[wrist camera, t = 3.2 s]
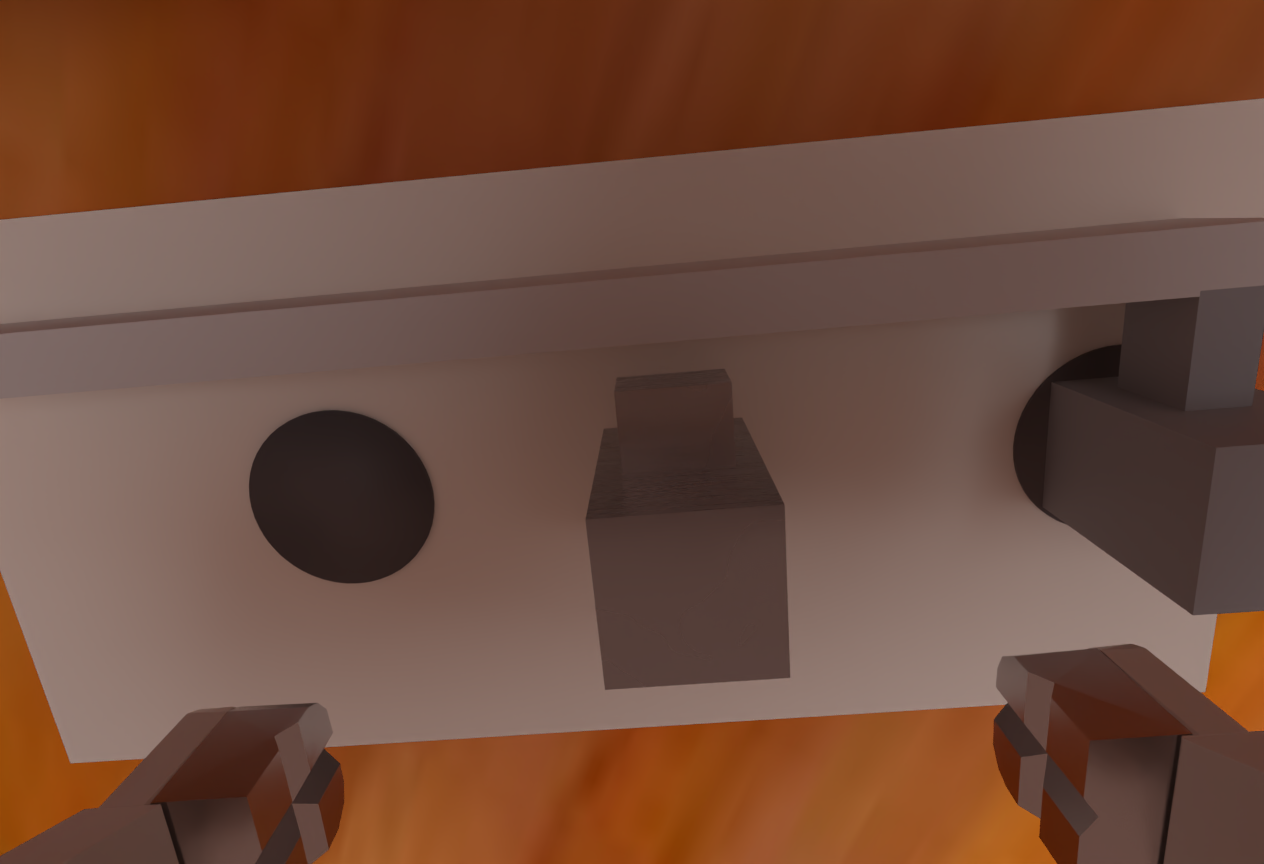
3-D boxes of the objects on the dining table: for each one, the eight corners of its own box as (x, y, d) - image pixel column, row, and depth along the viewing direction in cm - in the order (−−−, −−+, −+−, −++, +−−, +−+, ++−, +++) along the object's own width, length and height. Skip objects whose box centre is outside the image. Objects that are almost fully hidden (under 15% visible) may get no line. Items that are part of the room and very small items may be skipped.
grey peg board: (1220, 109, 17) (1615, 34, 10) (1152, 647, 20) (1400, 857, 14) (-41, 230, 18) (-458, 236, 11) (121, 715, 22) (-115, 937, 15)
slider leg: (737, 345, 16) (781, 408, 10) (746, 537, 17) (790, 677, 12) (597, 357, 16) (574, 424, 11) (617, 546, 17) (604, 690, 12)
